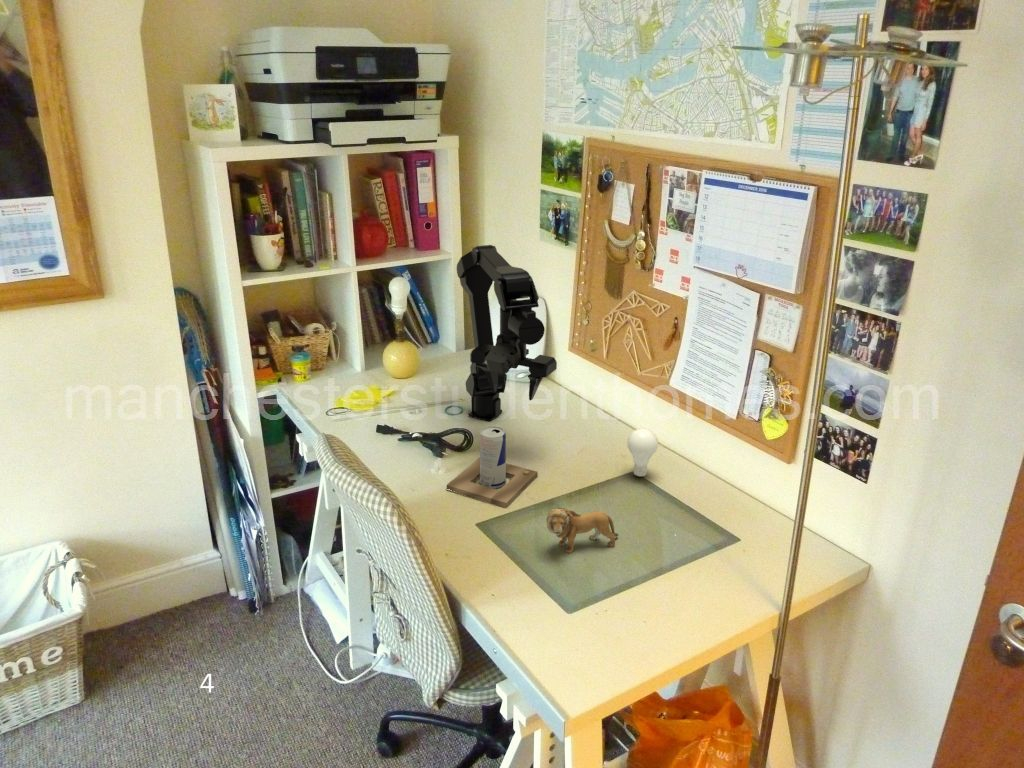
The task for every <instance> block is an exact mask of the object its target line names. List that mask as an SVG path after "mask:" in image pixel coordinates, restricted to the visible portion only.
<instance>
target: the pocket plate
mask: <svg viewBox="0 0 1024 768" xmlns="http://www.w3.org/2000/svg"><path fill="white" fill-rule="evenodd" d="M538 473H539V472H538V471H535V470H533V469H529V468H525V467H523V466H522V467H521V466H517V465H514V464H511V463H507V462H506V478H507V479H510V480H509V481H508V482H506V483H505V484H504V485H503V486H502V487H500V488H499V489H498V488H497V489H493V488H490V487H486V486H483V485H481V484H479V483H476V482H477V481H478V480H479V479H480V478H479V477H480V456H479V457H478V458H477V459H476V460H474V461H473V462H472V463H471V464H470V465H468V467H466V468H465V469H464V470H463V471H462V472H460V473H459V474H458V475H457V476H456V477H455V478H453V479H452V480H450V482H448V483H447V484H446V490H447V489H450V490H452V491H455V492H457V493H456V494H458V493H460V494H459V495H461V494H463V495H462V496H464V495H466V496H465V497H468V496H469V497H468V498H471V497H472V498H471V499H474V498H476V499H475V500H478V499H479V500H478V501H481V500H482V501H481V502H484V501H485V503H488V504H492V505H494V506H498V507H502V508H504V509H507V508H508V507H509V506H510V505H512V503H513V502H515V500H516V499H517V498H518V497H519V496H520V495H521V494H522V493H523V492H524V491H525V490H526V489H527V488H528V487H529V486H530V485H531V484H533V482H534V481H535V480H536V479H537V478H538ZM478 478H479V479H478ZM477 479H478V480H477ZM476 480H477V481H476ZM475 481H476V482H475ZM474 482H475V483H474Z"/></svg>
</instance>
